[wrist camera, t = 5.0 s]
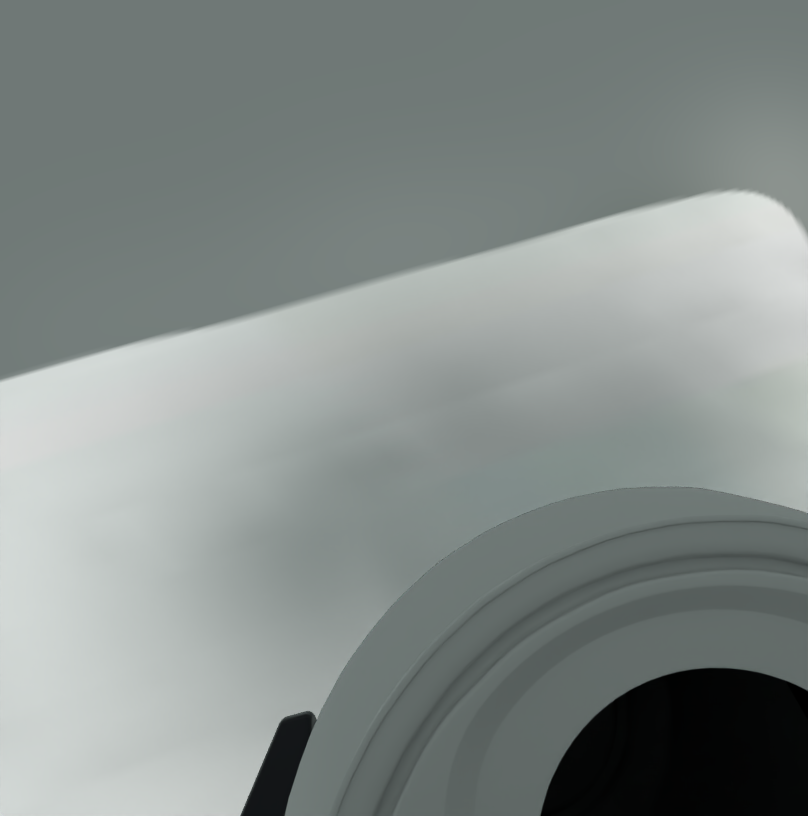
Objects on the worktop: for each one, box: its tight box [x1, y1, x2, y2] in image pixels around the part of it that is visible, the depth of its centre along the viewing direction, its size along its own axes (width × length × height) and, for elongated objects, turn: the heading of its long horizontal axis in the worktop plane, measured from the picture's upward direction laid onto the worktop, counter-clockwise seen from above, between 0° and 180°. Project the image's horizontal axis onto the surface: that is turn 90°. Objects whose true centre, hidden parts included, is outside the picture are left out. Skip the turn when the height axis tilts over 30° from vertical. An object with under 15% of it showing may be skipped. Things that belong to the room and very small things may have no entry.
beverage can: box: [285, 487, 808, 816], centre depth 9 cm, size 6×6×12 cm
